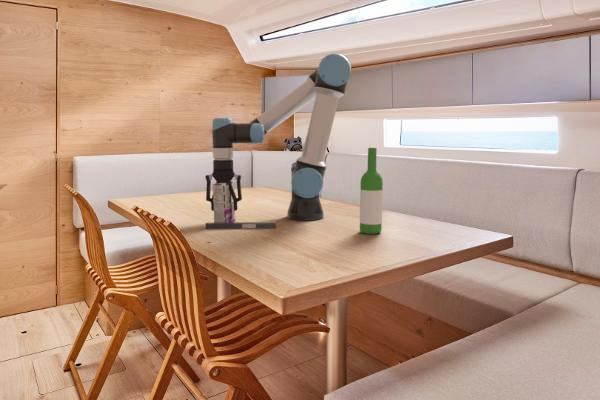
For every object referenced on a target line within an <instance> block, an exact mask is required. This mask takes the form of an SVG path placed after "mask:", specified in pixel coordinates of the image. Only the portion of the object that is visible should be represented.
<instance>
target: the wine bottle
mask: <svg viewBox="0 0 600 400" xmlns="http://www.w3.org/2000/svg"><path fill="white" fill-rule="evenodd" d="M383 184H384V183H383V177H382V175H381V174H380V173H379V172H378V171H377V147H368V148H367V170H366V171H365V172H364V173H363V175H362V176H361V179H360V189H359V192H360V194H359V195H360V197H359V198H360V199H359V231H360V232H361V233H362V234H365V233H366V234H367V235H377V233H378V234H380V233H381V232H382V225H383V224H382V222H383V221H382V219H383Z"/></svg>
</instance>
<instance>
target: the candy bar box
mask: <svg viewBox="0 0 600 400" xmlns="http://www.w3.org/2000/svg"><path fill="white" fill-rule="evenodd" d="M230 183H232V186H233V189H234V190H235V180H231V182H230ZM212 195H213V204H214V211H213V223H217V222H236V218H235V219H234V220H232V202H234V201H233V198H232V195H231V193H230V190H229V185H228V183H216V182H215V183H212Z"/></svg>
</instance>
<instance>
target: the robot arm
mask: <svg viewBox="0 0 600 400" xmlns="http://www.w3.org/2000/svg"><path fill="white" fill-rule="evenodd" d="M351 75H352V66H351V63H350V61H349V60H348V58H347V57H346V56H344V55H342V54H340V53H335V52H334V53H330V54H327V55H325V56H324V57H323V58H322V59H321V60H320V62H319V64H318V67H316V69H315V70H314V71H313V72H312V73H311V74H310V75H308V76H307V77H306V81H305V82H303V83H302V84H300V85H299V86H298V87H296V88H295V89H293V90H292V91H291V92H289V93H288V94H287V95H285V96H284V97H282V99H280V100H278V101H277V102H276V103H274V104H273V105H272V106H270V107H269V108H267V110H265V111H264V112H262V113H261V114H259V116H257V117H256V118H254V119H253V120H252V121H250V122H248V123H247V122H246V123H243V122H242V123H235V122H234V121H233V118H231V117H215V118H213V119H212V129H211V132H212V133H211V137H212V158H213V159H214V160H212V164H213V165H212V166H213V169H212V170H213V171H212V173H211V174H207V175H205V180H206V189H205V190H206V193H205V194H206V196H205V200H206V202H210V204H211V205H210V209H211V211H212V212H214V204H213V194H211V193H212V191H211V189H212V187H211V185H212V184H211V183H212V179H214V180H215V181H216V182H215V184H216V183H228V185H229V190H230V193H231V195H232V198H233V201H234V202H232V220H234V219H235V220H236V211H237V210H238V203H239V202H241V201H242V200H243V197H242V196H243V195H242V185H241V180H242V174H238V173H237V174H236V173H235V172H234V160H233V158H234V145H233V144H255V145H256V144H263V143H264V142H265V135H267V134H268V133H269V132H271V131H272V130H274V129H275V128H276V127H278V126H279V125H280V124H282V123H283V122H284V121H286V120H288V119H289V118H290V117H292V116H293V115H295V114H296V113H297V112H298V111H300V110H301V109H302V108H304V107H305V106H306V105H308V104H309V103H311V102H312V101H314V104H313V107H312V111H311V115H310V119H309V125H308V128H307V133H306V137H305V140H304V145H303V148H302V149H303V150H302V153H301V156H300V157H298V158H296V162H295V161H294V162H292V164H291V167H290V171H291V172H290V173H291V182H290V183H291V184H290V185H291V200H290V202H289V207H288V208H287V212H286V214H287V218H288V219H289V220H294V221H317V220H322V219H324V215H325V214H324V210H323V206H322V203H321V200H320V193H321V192H322V190H323V188H324V177H325V174H326V173H325V172H326V169H327V165H326V163H325V156H326V152H327V148H328V145H329V140H330V138H331V133H332V129H333V125H334V120H335V116H336V112H337V108H338V104H339V101H340V99H341V98H342V97H343V96H345V92H346V88H347V85H348V80H350V78H351ZM233 178H234V179H235V181H236V189H237V194H236V192H235V188H234V189H233V186H232V183H230V182H231V181H233ZM236 195H237V196H236Z"/></svg>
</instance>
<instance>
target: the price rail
mask: <svg viewBox="0 0 600 400" xmlns="http://www.w3.org/2000/svg"><path fill="white" fill-rule="evenodd" d="M223 229H224V230H225V229H226V230H233V229H235V230H237V229H240V230H243V229H249V230H250V229H251V230H252V229H253V230H254V229H277V222H276V221H254V222H252V221H251V222H250V221H249V222H248V221H247V222H246V221H240V222H239V221H238V222H236V221H235V222H217V223H214V222H205V230H223Z"/></svg>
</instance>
